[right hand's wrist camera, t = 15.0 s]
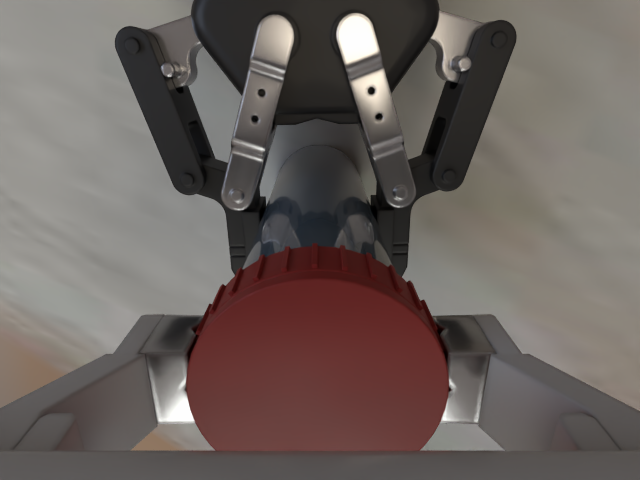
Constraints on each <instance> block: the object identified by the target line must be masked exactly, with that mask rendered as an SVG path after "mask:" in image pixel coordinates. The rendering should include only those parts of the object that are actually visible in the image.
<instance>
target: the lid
mask: <svg viewBox="0 0 640 480" xmlns="http://www.w3.org/2000/svg"><path fill="white" fill-rule="evenodd" d="M437 330H438V329H437V326H436V324H435V322H434V320H433V318H432V315H431V313H430V311H429V309H428V307H427V305H426V302H425V301H424V300H422V301H420V299H419V297H418V295H417V293H416V290H415V288H414V286H413V283H412V282H411V281H408V282H406V281H405V280H404V279H403V278H402V277H401V276H399V275H398V274H397V273H396V270H395V268H394V266H392V265H391V264H390V265H389V267H388V266H386V265H384V264H383V263H381V262H380V261H378V260H375V259H373V258H372V255H371V254H370V253H368V252H367V253H366V255H364V254H361V253H358V252H355V251H352V250H347V249H346V248H345V246H344V245H340V248H337V247H325V246H318V243H312V246H311V247H299V248H294V249H291V248H290V246H287V247H285V250H284V251H281V252H278V253H274V254H271V255H269V256H267V257H265V255H264V254H263V255H261V256H259V259H258V261H256V262H254V263H253V264H251V265H250V266H248V267H246V268H245V269H242V268H241V267H240V268H239V269H238V270H237V272H236V275H235V277H234V278H233V279H232V280H231V281H230V282H229V283H228V284H227V285H226V286H225V285H223V284H222V285H221V286H220V288H219V290H218V293H217V295H216V297H215V299H214V301H213V304H209V306H208V308H207V310H206V312H205V314H204V316H203V319H202V321H201V323H200V325H199V327H198V329H197V331H196V335H197V337H196V340H197V342H196V344H195V346H194V349H193V351H192V353H191V356H190V360H189V364H188V367H187V377H186V389H187V398H188V403H189V407H190V411H191V413H192V416H193V418H194V421H195V423H196V425H197V426H198V428H199V430H200V432H201V433H202V435H203V436H204V437H205V439H206V440H207V441H208V443H209V444H210V445H211V446H212V447H213V448H214V449H215V450H216V451H419V450H420V449H421V448H422V447H423V446H424V445H425V444H426V443H427V442H428V440H429V439H430V438H431V437H432V435H433V434H434V432H435V430H436V429H437V427H438V425H439V423H440V421H441V419H442V416H443V414H444V411H445V408H446V404H447V399H448V394H449V374H448V366H447V363H446V359H445V356H444V347H443V345H442V343H441V341H440V338H439V337H440V336H439V334H438V332H437Z"/></svg>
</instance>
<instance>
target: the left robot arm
mask: <svg viewBox="0 0 640 480" xmlns="http://www.w3.org/2000/svg"><path fill="white" fill-rule="evenodd" d="M428 42H430V43H431V44H432V45H433V46H434V48H435V50H436V54H437V59H436V72H437V74H438V76H439V77H440V78H441V79H442V80H444V81H446V82H445V85H444V88H443V91H442V94H441V97H440V100H439V103H438V106H437V109H436V112H435V115H434V118H433V121H432V124H431V127H430V130H429V133H428V136H427V139H426V142H425V145H424V148H423V151H422V154H421V155H420V156H417V157H415V158H412V159H409V160H408V159H407V156H406V152H405V148H404V139H403V135H402V131H401V127H400V124H399V120H398V117H397V113H396V110H395V106H394V103H393V99H392V96H391V93H392V92H393V90H394V89H395V87H396V86H397V85H398V83H399V82H400V80H401V79H402V78H403V76H404V75H405V73H406V72H407V71H408V69H409V68H410V67H411V65H412V64H413V62H414V61H415V60H416V58H417V57H418V55H419V54H420V53H421V51H422V50H423V48H424V47H425V46H426V44H427V43H428ZM515 43H516V31H515V29H514V27H513V26H512V24H511V23H509V22H507V21H504V20H497V21H492V22H487V23H481V22H477V21H474V20H471V19H467V18H464V17H460V16H457V15H453V14H450V13H446V12H443V11H440V10H439V4H438V0H194V1H193V4H192V9H191V16H188V17H185V18H182V19H179V20H176V21H173V22H170V23H167V24H164V25H161V26H158V27H155V28H152V29H148V30H146V29H141V28H137V27H133V26H128V27H124V28H122V29H121V30H120V31H119V32H118V33H117V35H116V38H115V47H116V51H117V53H118V56H119V58H120V60H121V63H122V65H123V67H124V70H125V72H126V74H127V77H128V79H129V82H130V84H131V86H132V89H133V91H134V93H135V96H136V98H137V100H138V103H139V105H140V108H141V110H142V112H143V115H144V117H145V119H146V122H147V124H148V126H149V129H150V131H151V134H152V136H153V138H154V141H155V143H156V145H157V148H158V150H159V152H160V155H161V157H162V160H163V162H164V164H165V167H166V169H167V171H168V174H169V176H170V178H171V181H172V183H173V185H174V187H175V188H176V189H177V190H178V191H179V192H180V193H182V194H185V195H194V194H199V195H202V196H205V197H209V198H212V199H214V200H216V201H217V202H219V203H220V204H221V205H222V207H223V208H224V210H225V213H226V219H227V229H228V239H229V246H230V248H229V249H230V259H231V269H232V271H233V273H234V274H235V275H236V272H237V270H238V269H239V268H240V267H241V268H243V265H244V263H245V260H246V257H247V255H248V252H249V250H250V247H251V244H252V242H253V239H254V237H255V234H256V231H257V229H258V226H259V224H260V221H261V219H262V216H263V213H264V211H265V208H266V197H260V189H259V187H260V184H261V180H262V176H263V173H264V169H265V165H266V162H267V158H268V154H269V151H270V147H271V144H272V142H273V138H274V135H275V131H276V128H277V125H296V124H299V123H303V122H306V121H309V120H313V119H322V120H326V121H330V122H334V123H338V124H358V125H359V129H360V132H361V135H362V138H363V141H364V143H365V146H366V149H367V152H368V155H369V158H370V162H371V165H372V168H373V171H374V174H375V177H376V181H377V187H376V195H371V208H372V211H373V213H374V216H375V219H376V221H377V224H378V227H379V229H380V232H381V235H382V237H383V240H384V243H385V245H386V248H387V251H388V253H389V256H390V259H391V261H392V264H393V266H394V268H395V270H396V273H397V274H398V275H399V276H401V277H402V276H403V274H404V272H405V270H406V268H407V262H408V243H409V229H410V213H411V208H412V206H413V204H414V203H415V202H416V200H417V199H419V198H420V197H422V196H424V195H426V194H429V193H432V192H435V191H437V190H442V191H452V190H455V189H457V188H458V187H459V186H460V185H461V184H462V182H463V180H464V178H465V175H466V172H467V170H468V167H469V164H470V162H471V159H472V157H473V154H474V151H475V149H476V146H477V143H478V141H479V138H480V135H481V133H482V130H483V128H484V125H485V122H486V120H487V117H488V114H489V112H490V109H491V107H492V104H493V101H494V99H495V96H496V93H497V91H498V88H499V85H500V83H501V80H502V78H503V75H504V72H505V70H506V67H507V64H508V62H509V59H510V56H511V54H512V51H513V49H514V46H515ZM203 46H204V48H205V49H206V50H207V52H208V53H209V54H210V55H211V57H212V58H213V59H214V61H215V62H216V63H217V64H218V66H219V67H220V68H221V70H222V71H223V72H224V73H225V75H226V76H227V77H228V79H229V80H230V81H231V82H232V84H233V85H234V86H235V88H236V89H237V90H238V91H239V93H240V94H241V95H242V99H241V103H240V107H239V111H238V115H237V120H236V124H235V128H234V132H233V136H232V141H231V153H230V157H229V162H228V163H226V162H223V161H220V160H217V159H215V156H214V154H213V151H212V148H211V146H210V143H209V140H208V138H207V135H206V132H205V130H204V127H203V125H202V122H201V119H200V117H199V114H198V111H197V109H196V106H195V103H194V101H193V98H192V95H191V93H190V90H189V87H188V86H189V85H191V84H192V83H193V82H194V81H195V79H196V77H197V65H196V56H197V53H198V51H199V50H200V48H201V47H203Z"/></svg>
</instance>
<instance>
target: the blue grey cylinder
mask: <svg viewBox="0 0 640 480" xmlns="http://www.w3.org/2000/svg"><path fill="white" fill-rule="evenodd" d="M312 243H318V246H325V247H337V248H340V245H344V246H345V248H346V249H347V250H352V251H355V252H358V253H361V254H364V255H366V253H367V252H368V253H370V254H371V255H372V258H373V259H375V260H378V261H380V262H381V263H383V264H384V265H386V266H388V267H389V265H390V264H391V265H392V266H393V264H392V261H391V259H390V256H389V253H388V251H387V248H386V245H385V243H384V240H383V237H382V235H381V232H380V229H379V227H378V224H377V221H376V219H375V216H374V213H373V211H372V208H371V205H370V203H369V200H368V197H367V195H366V192H365V189H364V187H363V184H362V181H361V179H360V176H359V173H358V171H357V169H356V167H355V165H354V163H353V162H352V161H351V159H350V158H349V157H348V156H347V155H346V154H344V153H343V152H341V151H340V150H338V149H336V148H333V147H330V146H326V145H312V146H307V147H304V148H302V149H300V150H298V151H296V152H295V153H293V154H292V155H291V156H290V157H289V158H288V159H287V160H286V161H285V163H284V164H283V166H282V168H281V170H280V172H279V175H278V177H277V180H276V182H275V185H274V188H273V190H272V193H271V195H270V198H269V200H268V203H267V206H266V208H265V211H264V213H263V216H262V219H261V221H260V224H259V226H258V229H257V231H256V234H255V237H254V239H253V242H252V244H251V247H250V250H249V252H248V255H247V257H246V260H245V263H244V265H243V268H242V269H245V268H246V267H248V266H250V265H251V264H253V263H254V262H256V261H258V259H259V256H261V255H263V254H264V255H265V257H267V256H269V255H271V254H274V253H278V252H281V251H284V250H285V247H287V246H290V248H291V249H294V248H299V247H311V246H312Z"/></svg>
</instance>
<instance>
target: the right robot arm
mask: <svg viewBox="0 0 640 480" xmlns="http://www.w3.org/2000/svg"><path fill="white" fill-rule="evenodd" d="M203 316H204V315H164V314H157V315H143V316H141V317H140V318H139V320H138V321H137V322H136V324H135V325H134V326H133V328H132V329H131V330H130V332H129V333H128V334H127V336H126V337H125V338H124V340H123V341H122V343H121V344H120V345H119V347H118V348H117V349H116V351H115V352H114V353H113V354H105V355H104V356H102V357H100V358H98V359H96V360H94V361H92V362H90V363H88V364H86V365H84V366H82V367H80V368H78V369H76V370H74V371H72V372H70V373H68V374H66V375H64V376H62V377H60V378H58V379H57V380H55V381H53V382H51V383H49V384H47V385H45V386H43V387H41V388H39V389H37V390H35V391H33V392H31V393H29V394H27V395H25V396H23V397H21V398H19V399H17V400H15V401H13V402H11V403H10V404H8V405H6V406H4V407H2V408H0V480H640V411H638V410H636V409H634V408H632V407H630V406H628V405H627V404H625V403H623V402H621V401H619V400H617V399H615V398H613V397H611V396H609V395H607V394H605V393H603V392H601V391H599V390H598V389H596V388H594V387H592V386H590V385H588V384H586V383H584V382H582V381H580V380H578V379H576V378H574V377H572V376H570V375H569V374H567V373H565V372H563V371H561V370H559V369H557V368H555V367H553V366H551V365H549V364H547V363H545V362H543V361H541V360H540V359H538V358H536V357H534V356H532V355H530V354H522V353H521V351H520V350H519V349H518V347H517V346H516V345H515V343H514V342H513V340H512V339H511V338H510V336H509V335H508V334H507V332H506V331H505V330H504V328H503V327H502V325H501V324H500V323H499V321H498V320H497V319H496V317H495V316H493V315H491V314H484V315H450V316H432V318H433V320H434V322H435V324H436V326H437V329H438V330H437V332H438V334H439V336H440V337H439V338H440V341H441V343H442V345H443V347H444V356H445V359H446V363H447V366H448V374H449V394H448V399H447V404H446V408H445V411H444V414H443V416H442V419H441V421H440V423H457V424H479V425H478V426H479V427H480V428H481V429H482V430H483V431H485V432H486V433H487V434H488V435H489V436H490V437H491V438H492V439H493V440H494V441H495V442H497V443H498V444H499V445H500V446H501V447H502V448H503V449H504V450H505V451H130V450H131V449H132V448H134V447H135V446H136V445H137V444H138V443H139V442H140V441H141V440H142V439H144V438H145V437H146V436H147V435H148V434H149V433H150V432H151V431H152V430H154V429H155V428H156V427H157V424H178V423H195V421H194V418H193V416H192V413H191V411H190V407H189V403H188V398H187V389H186V377H187V367H188V364H189V360H190V356H191V353H192V351H193V349H194V346H195V344H196V342H197V340H196V337H197V335H196V331H197V329H198V327H199V325H200V323H201V321H202V319H203Z"/></svg>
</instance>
